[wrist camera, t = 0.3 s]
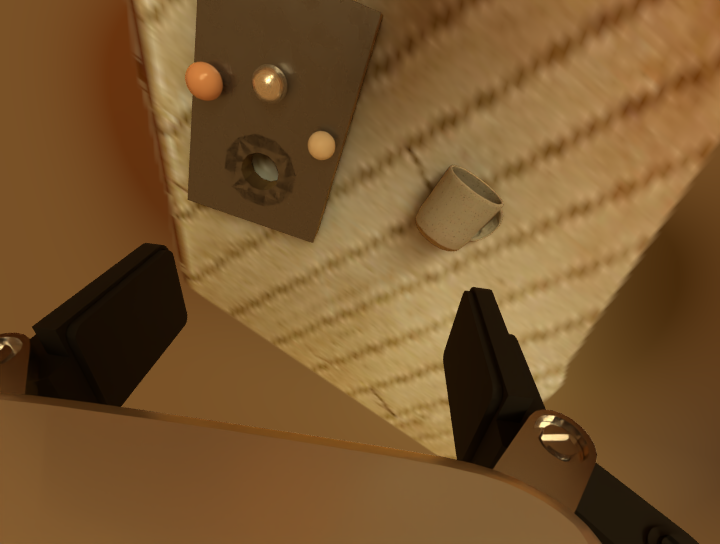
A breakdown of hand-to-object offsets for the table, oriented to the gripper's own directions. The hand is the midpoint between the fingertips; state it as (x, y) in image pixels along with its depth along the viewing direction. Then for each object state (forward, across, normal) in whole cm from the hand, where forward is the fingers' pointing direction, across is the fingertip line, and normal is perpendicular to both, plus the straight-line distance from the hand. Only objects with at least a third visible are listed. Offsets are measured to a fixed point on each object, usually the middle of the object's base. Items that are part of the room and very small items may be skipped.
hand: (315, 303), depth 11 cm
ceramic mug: (+35, -12, +8) cm, 38 cm away
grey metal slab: (+35, +12, +1) cm, 37 cm away
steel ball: (+29, +11, -3) cm, 32 cm away
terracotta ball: (+30, +18, -3) cm, 35 cm away
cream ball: (+30, +6, +2) cm, 30 cm away
